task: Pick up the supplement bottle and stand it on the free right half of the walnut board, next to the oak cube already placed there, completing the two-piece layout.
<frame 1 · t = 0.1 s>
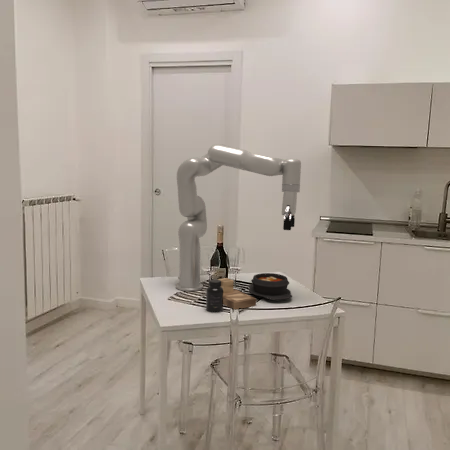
hand: (288, 228, 200), 31 cm above the table, tool pointing down, fingers open, 9 cm apart
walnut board: (232, 301, 199), on the table
casserole: (269, 295, 210), on the table
supplement bottle: (214, 310, 188), on the table
oak cube: (225, 291, 203), point 3 cm above the table, touching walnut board
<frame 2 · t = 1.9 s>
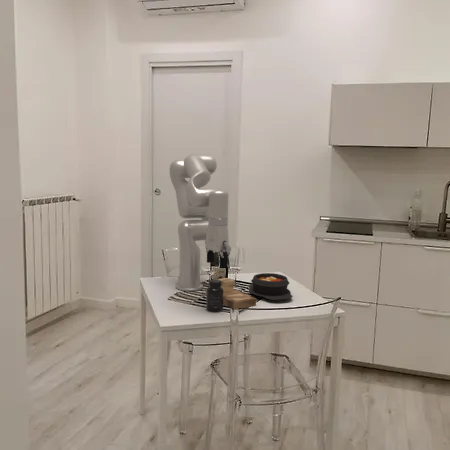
hand: (216, 264, 185), 18 cm above the table, tool pointing down, fingers open, 9 cm apart
nothing on the table moved.
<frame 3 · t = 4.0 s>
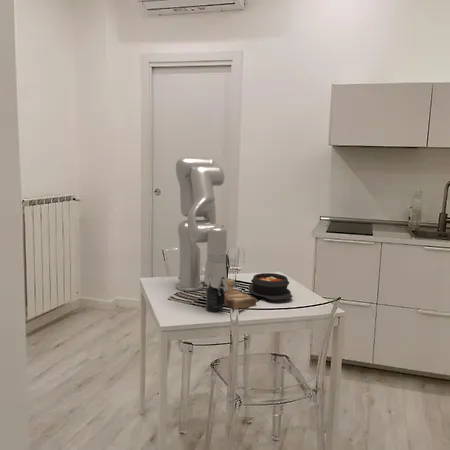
hand: (215, 301, 187), 3 cm above the table, tool pointing down, fingers closed on supplement bottle, 6 cm apart
supplement bottle: (214, 310, 188), on the table, touching gripper
everything else where it was.
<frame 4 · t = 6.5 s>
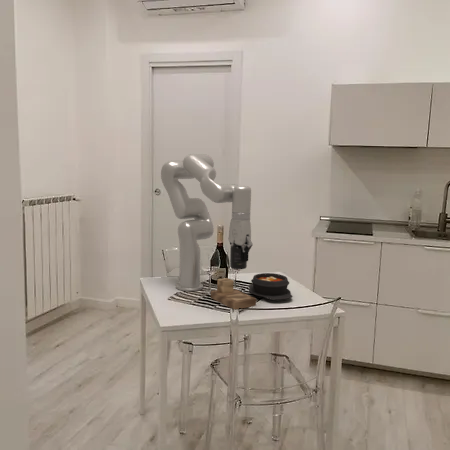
hand: (239, 259, 192), 19 cm above the table, tool pointing down, fingers closed on supplement bottle, 6 cm apart
supplement bottle: (238, 268, 193), point 15 cm above the table, touching gripper
everything else where it was.
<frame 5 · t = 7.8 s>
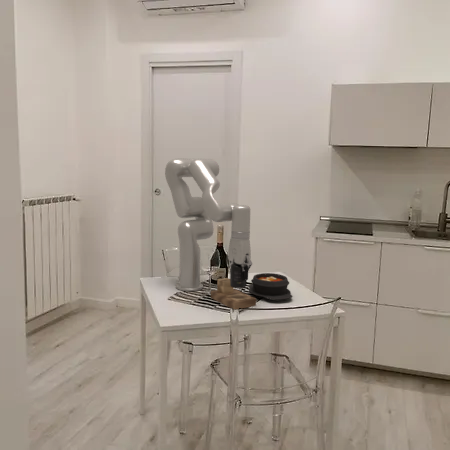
hand: (239, 277, 193), 11 cm above the table, tool pointing down, fingers closed on supplement bottle, 6 cm apart
supplement bottle: (238, 286, 194), point 8 cm above the table, touching gripper
everything else where it was.
when the fingers open (8 cm above the table, at t = 9.0 s): supplement bottle moves 1 cm, resting on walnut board.
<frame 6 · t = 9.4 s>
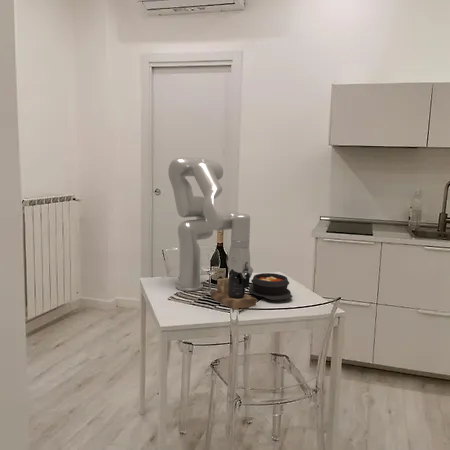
hand: (238, 284, 194), 8 cm above the table, tool pointing down, fingers open, 9 cm apart
supplement bottle: (236, 296, 195), point 3 cm above the table, touching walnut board
everything else where it was.
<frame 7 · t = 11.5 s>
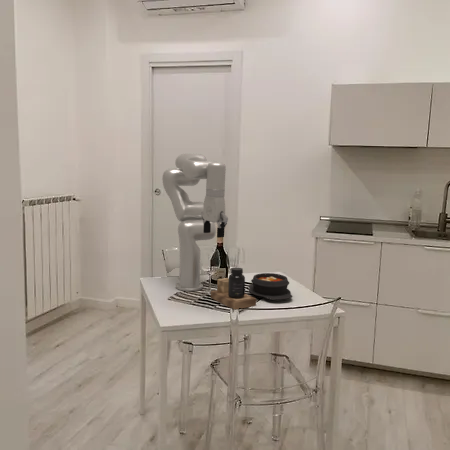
hand: (213, 234, 192), 29 cm above the table, tool pointing down, fingers open, 9 cm apart
nothing on the table moved.
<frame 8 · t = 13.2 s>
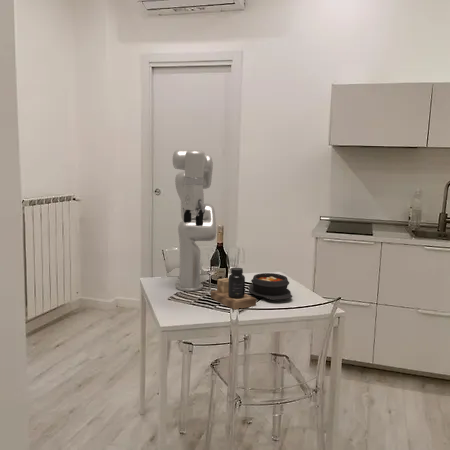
hand: (193, 224, 191), 33 cm above the table, tool pointing down, fingers open, 9 cm apart
nothing on the table moved.
at the end: supplement bottle inside the target area on the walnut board (2.5 cm from its centre), point 3.0 cm above the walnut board's base; supplement bottle tilted 0°; the gripper is holding nothing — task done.
